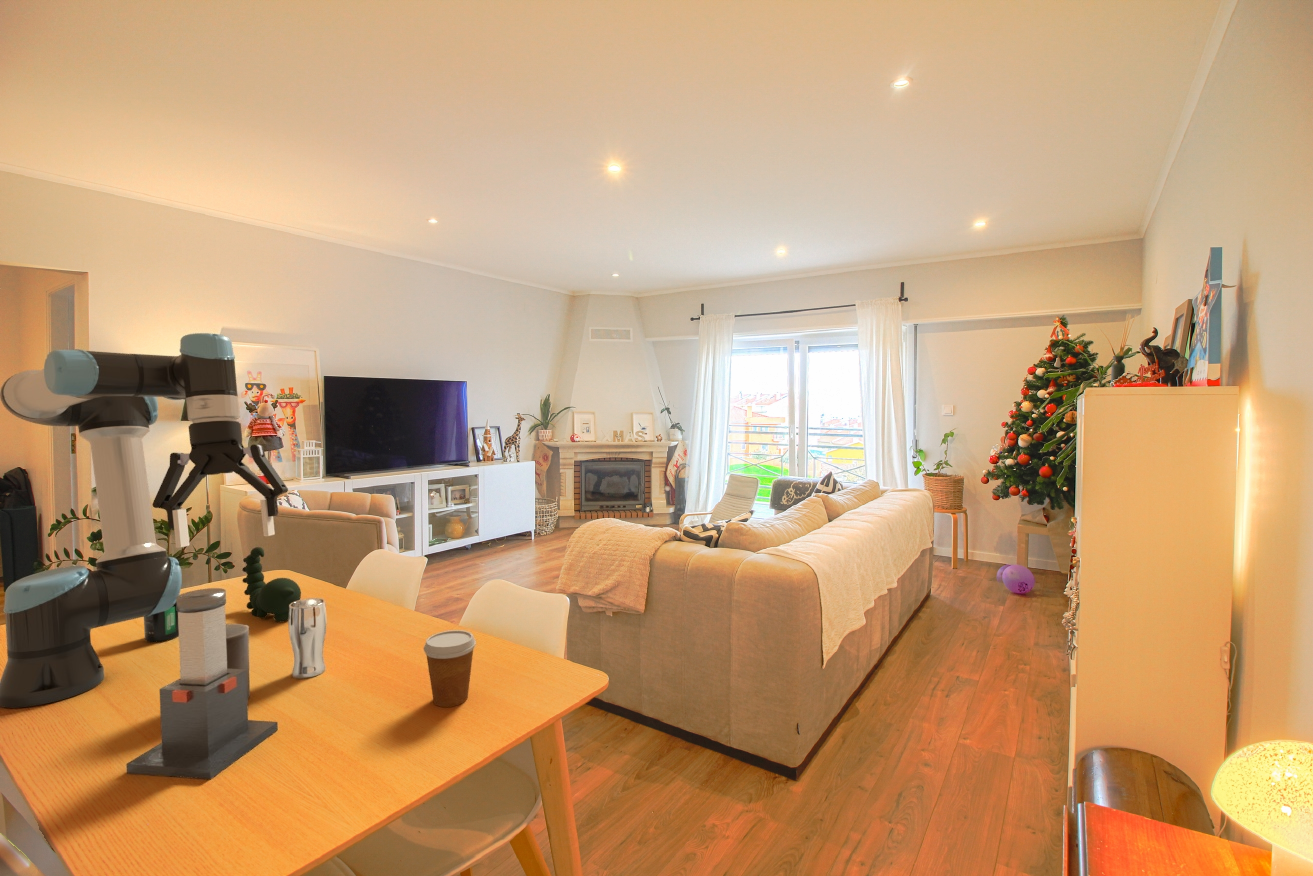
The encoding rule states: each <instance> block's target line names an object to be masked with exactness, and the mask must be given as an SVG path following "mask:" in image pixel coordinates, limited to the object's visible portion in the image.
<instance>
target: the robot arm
mask: <svg viewBox="0 0 1313 876" xmlns="http://www.w3.org/2000/svg"><path fill="white" fill-rule="evenodd" d="M179 341H180V345H179V346H180V347H179V353H180V354H179V355H162V354H143V353H123V352H122V353H121V352H109V351H93V350H84V349H79V348H78V349H54V350H51V351H50V352H48V354H47V355H46V358H45V360H44V363H43V364H44V366H43V369H28V370H23V371H21V372H18V373H16V374H14V375H11V376H10V377H9V378H7V379H6V380H5V381H4V383H3V384H2V386H1V388H0V401H1V403H2V405H3V407H4V408H5V410H7V411H8V412H9V413H11V415H13V416H15V417H16V418H19V419H21V420H23V421H25V422H29V423H33V424H37V425H41V426H50V427H77V429H78V435H79V437H81V438H82V439H84V440H85V441H87V442H88V443H89V445H90V451H91V460H92V466H93V475H94V482H95V490H96V498H97V505H98V513H99V520H100V522H99V523H100V529H101V535H102V544H103V553H102V555H101V556H100V557H98V559H96V561H95V567H96V569H95V570H92V571H90V570H89V569H88V568H87V567H86V566H83V565H71V566H70V565H69V566H65V567H62V566H61V567H57V568H53V569H47V570H44V571H40V572H39V571H38V572H36V573H34V574H30V575H28V576H24V577H22V578H20V579H18V580H15V581H14V582H13V583H11V584H10V585H9V586H8V587H7V588H6V590H5V593H4V606H3V609H2V610H3V612H4V616H5V618H4V619H5V631H6V633H5V635H6V654H7V661H6V664H5V667H4V670H3V672H2V675H1V678H0V707H1V708H5V709H18V708H28V707H34V706H41V705H48V704H50V703H55V702H59V701H62V700H66V699H69V698H72V697H75V696H78V695H80V694H83V693H85V692H87V691H90V690H92V689H93V688H96V687H97V686H98V685H100V684H101V683H102V682H103V681H104V679H105V671H104V670H105V668H104V665H103V664H102V663H101V661H100V658H99V656H98V654H97V652H96V651H95V649H94V647H93V645H92V638H91V631H92V629H96V628H99V627H104V626H106V627H107V626H110V625H114V624H118V623H122V622H127V621H130V620H135V619H141V618H144V617H147V616H150V615H152V614H156V613H159V612H163V611H166V610H168V609H170V608H171V607H172V606H173V605H174V604H175V603H176V597H177V596H179V595H181V589H182V577H183V576H182V568H181V566H180V563H179V562H180V561H178V559H177V558H176V557H171V556H168V555H167V549H166V548H164V547H162V546H160V545H158V543H157V539H156V531H155V525H154V518H153V511H152V507H153V508H155V509H162V510H165V511H166V514H167V515H166V517H167V526H168V529H170V530H172V529H173V531H174V539H175V548H176V549H179V548H181V549H182V548H184V547H189V546H190V535H189V527H188V515H187V508H183V507H182V506H183V505H184V504H185V502H186V501H187V499H188V498H189V497H190V495H191V494H192V493H193V492H194V490H195V489H196V488H197V487H198V485H199V484H201V483H200V482H202V480H203V479H205V478H206V477H207V476H215V475H220V474H231V473H232V474H233V473H234V474H236V475H238V476H239V477H240V478H242V479H243V480H244V481H245V482H246V483H248V484H249V485H250V486H251V487H252V488H253V489H255V490H256V491H257V492H258V493H259V494H261V495H262V496H263V498H264V499H260V500H259V501H260V511H261V520H262V521H261V522H262V530H263V537H271V536H274V535H276V534H275V533H276V532H275V524H274V523H275V521H274V517H276V516H278V514H279V507H278V498H279V496H281V495H283V494H286V493H288V491H289V488H288V486H287V485H286V484H285V482H284V481H283V479H282V478H281V476H280V475H279V474H278V472H277V471H276V469H275V468H274V467H273V465H272V464H271V462H270V461H269V459H268V458H267V457H266V454H265V448H264V446H263V445H261V444H251V445H250V446H247V447H244V445H243V433H242V432H243V431H242V423H240V421H237V420H239V419H240V418H241V414H240V413H241V412H240V406H239V395H238V385H237V376H236V375H237V374H236V364H235V363H236V362H235V359H236V356H235V354H234V347H233V343H232V340H231V339H230V338H229V337H228V336H225V335H223V334H218V333H211V332H209V333H208V332H200V333H199V332H198V333H196V332H195V333H188V334H185V335H183V336H182V337H181V338H180V340H179ZM158 398H164V399H168V400H172V401H181V400H185V402H186V412H187V413H186V414H187V420H188V421H189V422H191V424H189V425H188V436H189V445H190V447H191V449H190V452H189V453H184V452H171V453H170V455H169V466H168V467H167V471H166V473H165V475H164V478H163V480H162V482H161V484H160V486H159V489H158V490H157V493H156V495H155V498H154V500H153V502H151V495H150V489H149V480H148V473H147V465H146V460H145V459H146V458H145V451H144V443H143V438H144V437H145V436H146V435H147V434H148V433H149V432H150V426H151V425H154V424H155V423H156V422H157V421H158V417H159V413H158V411H159V402H158ZM246 455H247V456H248V457H249V458H250V459H252V460H253V462H254V463H255V465H256V466H257V467H258V469H259V470H260V472H261V473H262V474H263V476H264V478H265V479H266V480H267V482H268V483H269V485H268V484H267V483H266V482H265V481H264V480H263V479H262V478H260V477H259V476H258V475H257V474H256V473H254V472H253V471H252V470H251V469H250V467H249V466H248V465H247V464H245V462H243V459H244V458H245V457H246ZM189 461H191V463H192V464H193V465H194V466H193V467H192V468H191V470H190V471H189V473H188V476H187V477H186V478H185V480H184V481H183V482H182V484H181V485H180V486H179V487H178V489H176V488H177V486H178V484H179V481H180V480H181V477H182V475H183V473H184V470H185V468H186V466H187V465H188V464H189Z"/></svg>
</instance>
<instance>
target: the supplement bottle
mask: <svg viewBox="0 0 1313 876" xmlns="http://www.w3.org/2000/svg"><path fill="white" fill-rule="evenodd" d="M143 628H144V629H143V630H144V631H143V632H144V640H145V642H146V643H151V642H156V643H163V642H168V641H171V640H173V639H177V638H179V626H178V612H177V607H176V603H175V604H174V605H173V606H172V607H171V608H170V609H168V610H166V611H163V612H159V613H156V614H152V615H150V616H147V617H143ZM167 640H168V641H167ZM162 641H163V642H162Z"/></svg>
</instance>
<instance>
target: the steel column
mask: <svg viewBox="0 0 1313 876" xmlns="http://www.w3.org/2000/svg"><path fill="white" fill-rule="evenodd" d="M226 604H227V590H226V589H225V588H219V587H216V588H215V587H213V588H212V587H211V588H201V589H196V590H190V591H188V592H184V593H180V594H179V596H177V597H176V607H177V612H178V626H179V636H178V646H179V647H178V648H179V672H180V678H181V685H184V686H202V687H206V686H208V685H210V684H211V683H213V682H215V681H217V680H219V679H221V678H222V677H224V676H226V675H227V650H226V621H227V620H226ZM180 678H179V679H180Z"/></svg>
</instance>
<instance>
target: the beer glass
mask: <svg viewBox="0 0 1313 876" xmlns="http://www.w3.org/2000/svg"><path fill="white" fill-rule="evenodd" d="M327 624H328V623H327V609H326V600H325V599H324V598H319V597H311V598H303V599H302V598H301V599H300V600H298V601H295V602H293V603H291V604H290V605H289V620H288V624H287V625H288V634H289V638H290V639H289V640H290V642H291V643H290V644H291V647H292V652H293V658H294V659H293V668H292V674H291V675H292V677H293V678H295V679H301V680H302V679H311V678H314V677H317V676H319V675H322V674H323V673H324V672H325V671H326V664H325V660H324V645H325V639H326V633H327Z"/></svg>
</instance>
